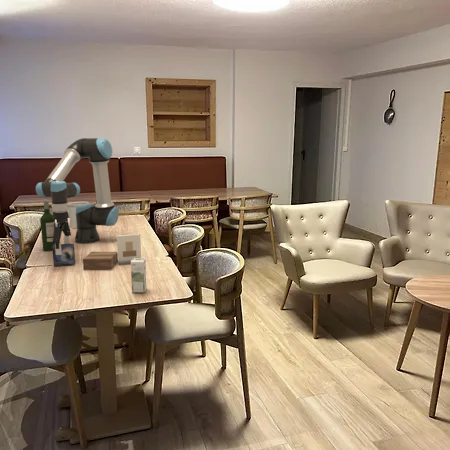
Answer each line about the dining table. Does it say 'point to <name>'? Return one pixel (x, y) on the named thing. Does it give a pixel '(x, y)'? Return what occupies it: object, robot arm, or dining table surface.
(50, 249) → the wine bottle
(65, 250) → the small box
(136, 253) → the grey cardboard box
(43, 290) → the dining table surface
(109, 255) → the walnut block
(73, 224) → the utensil holder
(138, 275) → the syrup box
